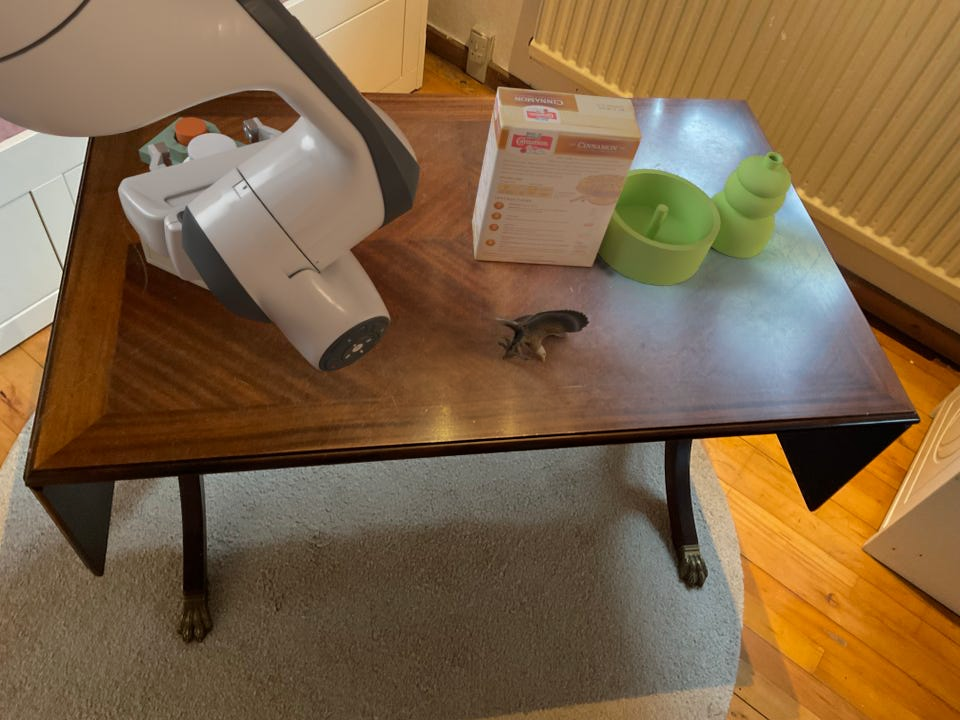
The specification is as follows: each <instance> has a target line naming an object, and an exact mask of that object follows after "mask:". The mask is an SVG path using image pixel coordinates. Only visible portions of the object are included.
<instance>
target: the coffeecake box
mask: <svg viewBox="0 0 960 720" xmlns="http://www.w3.org/2000/svg"><path fill="white" fill-rule="evenodd" d="M635 112H636V110H635V108H634V105H633V102H632V100H631V98H622V97H614V96H613V97H610V96H602V95H601V96H600V95H589V94H579V93H570V92H569V93H568V92H558V91H546V90H538V89H526V88H515V87H506V86H498V87H497V90H496V93H495V98H494V104H493V109H492V114H491V119H490V124H489V130H488V135H487V140H486V145H485V151H484V156H483V159H482V160H483V162H482V167H481V171H480V172H481V173H480V176H479V182H478V187H477V193H476V198H475V204H474V208H473V215H472V220H471V227H472V240H473V241H472V242H473V243H472V244H473V257H474V261H489V262H503V263H504V262H505V263H521V264H537V265H553V266H567V267H585V268H592V267H593V265H594V262H595V260H596V257H597V256H598V254H599V253H598V250H599V247H600V245H601V242H602V240H603V237H604V234H605V232H606V229H607V226H608V224H609V221H610V219H611V216H612V214H613V211H614V209H615V206H616V203H617V201H618V198H619V196H620V193H621V191H622V188H623V185H624V183H625V180H626V177H627V175H628V172H629V171H630V170H631V167H632V164H633V162H634V159H635V156H636V154H637V152H638V149H639V146H640V144H641V141H642V139H643V136H642V133H641V129H640V126H639V123H638V121H637V118H636V114H635Z"/></svg>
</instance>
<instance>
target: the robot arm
mask: <svg viewBox="0 0 960 720" xmlns="http://www.w3.org/2000/svg"><path fill="white" fill-rule="evenodd" d="M258 90H259V91H260V90H262V91H269V92H273V93H275V94H277V95H278V97H280V98H281V99H282V100H283V101H285V103H287V104H288V105H289V107H290V108H292V109H293V110H294V111H295V112H296V113H297V114H298V115H299V118H298V119H297V120H296V122H294V123H293V125H292V126H291V127H289V128H288V129H287V130H286V131H284V132H282V131H281V130H278V129H275V128H272V127H271V126H267V125H264V124H263V123H262V122H261V121H260V119H259V118H258V117H253V118H249V119H246V120H242V126H243V128H242V131H243V134H244V136H245V137H246V139H247V140H248V141H249V143H250V144H246V146H243V147H239V148H235V149H232V150H228V151H224V152H221V153H217V154H213V155H210V156H206V157H202V158H199V159H195V160H191V161H188V162H184V163H180V164H177V165H173V164H172V160H171V158H170V157H171V155H170V150H169V149H168V147H167V146H165V143H164V142H159V143H155V144H151V145H148V150H149V154H150V157H151V163H150V165H149V167H148V168H149V171H147V172H144V173H140V174H136V175H133V176H129V177H126V178H124V179H122V181H121V182H120V183H119V186H118V189H117V192H118V197H119V201H120V203H121V206H122V211H123V212H124V215H125V217H126V218H127V220H128V222H129V223H130V224H131V226H132V228H133V229H134V230H135V232H136V233H137V234H138V236H139V235H140V236H141V238H142V239H143V240H144V241H145V242H146V243H147V244H148V246H149V247H150V248H151V249H152V250H153V251H155V252H156V253H157V254H159V255H161V256H163V257H166V258H170V259H171V261H172V263H173V266H174V268H175V270H176V272H177V274H178V276H177V277H179V278H180V279H181V280H183V281H187V280H188V282H190V281H192V280H201V279H203V281H204V282H205V284H206V285H207V287H208V288H209V290H210V291H209V290H208V291H209V292H211V294H212V295H213V297H214V298H215V299H216V300H217V302H218V303H219V304H220V305H221V306H222V307H223V308H225V309H226V310H227V311H228V312H230V313H231V314H232V315H234V316H236V317H239V318H242V319H246V320H250V321H254V322H256V323H257V322H258V323H263V324H264V323H265V324H275V325H276V327H277V328H278V329H279V330H280V332H282V334H283V335H284V336H285V338H286V339H287V340H288V342H289V343H290V344H291V345H292V346H293V347H294V348H295V350H296V351H298V353H299V354H300V355H301V356H302V357H303V358H304V359H305V360H306V361H307V362H308V363H309V365H311V366H313V368H315V369H316V370H318V371H319V372H325V373H326V372H327V373H328V372H334V371H338V370H341V369H343V368H346V367H349V366H351V365H352V364H354V363H355V362H357V361H358V360H360V359H362V357H364V356H365V355H367V354H368V353H370V351H371V350H373V349H374V348H375V347H376V346H377V345H378V344H379V343H380V342H381V341H382V339H383V338H384V336H385V335H386V334H387V332H388V330H389V328H390V326H391V325H390V324H391V316H390V313H389V311H388V309H387V307H386V304H385V303H384V301H383V299H382V297H381V294H380V293H379V292H378V290H377V288H376V286H375V284H374V283H373V281H372V280H371V278H370V276H369V275H368V273H367V272H366V271H365V269H364V267H363V266H362V264H361V263H360V261H359V260H358V259H357V257H356V256H355V255H354V254H353V252H352V251H351V249H353V248H355V246H357V245H358V244H359V243H361V242H362V241H363V240H365V239H367V237H369V236H370V235H371V234H373V233H375V231H377V230H381V229H382V228H384V227H386V226H387V225H389V224H390V223H392V222H394V221H395V220H397V219H398V218H399V217H402V216H403V215H404V214H406V213H408V212H409V211H411V210H412V209H413V207H414V203H415V200H416V196H417V192H418V188H419V183H420V175H421V167H420V165H419V163H418V160H417V156H416V153H415V150H414V148H413V147H412V144H411V142H410V141H409V139H408V138H407V136H406V135H405V133H404V132H403V130H402V129H401V128H400V126H399V125H398V124H397V123H396V122H395V121H394V120H393V119H392V117H390V116H389V115H388V114H387V112H386V111H384V110H383V109H382V108H380V107H379V106H378V105H376V104H375V103H373V102H372V101H371V100H369V99H368V98H367V97H365V96H364V95H363V94H362V92H361V91H360V90H359V89H358V88H357V86H356V85H355V84H354V83H353V81H352V80H351V79H350V78H349V77H348V76H347V74H346V73H345V72H344V71H343V70H342V68H341V67H340V66H339V65H338V64H337V62H335V60H333V58H332V57H331V55H329V54H328V52H327V51H326V49H325V48H324V47H323V46H322V45H321V43H319V42H318V41H317V39H316V38H315V36H313V35H312V33H311V32H310V31H309V30H308V29H307V27H306V26H305V25H304V24H302V22H301V20H300V19H299V18H297V16H295V15H293V14H292V13H291V12H290V10H289V9H288V8H286V6H285V5H284V4H283V3H282V2H281V1H280V0H0V119H3V120H4V121H7V122H9V123H11V124H13V125H16V126H18V127H20V128H23V129H26V130H29V131H33V132H35V133H40V134H44V135H48V136H49V135H50V136H55V137H63V138H65V137H66V138H93V137H95V138H97V137H105V136H111V135H117V134H121V133H122V134H123V133H127V132H130V131H135V130H137V129H140V128H141V129H142V128H143V127H146V126H148V125H151V124H153V123H156V122H159V121H160V120H162V119H163V120H164V119H165V118H168V117H170V116H172V115H174V114H178V113H179V112H181V111H184V110H186V109H188V108H191V107H194V106H197V105H199V104H202V103H206V102H208V101H212V100H214V99H218V98H221V97H226V96H229V95H233V94H237V93H241V92H248V91H258ZM172 165H173V166H172ZM140 236H139V237H140Z"/></svg>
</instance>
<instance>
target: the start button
mask: <svg viewBox="0 0 960 720" xmlns="http://www.w3.org/2000/svg"><path fill="white" fill-rule="evenodd" d="M182 118H183V119H181V120H179V121H178V122H177V123H176V124H175V131H176V136H177V140H178V142H179V143H180V144H181V145H183V146H188V145H189V143H190V142H191V140H193V139H194V138H195V137H197V136H199V135H202V134H207V133H208V131H207V125H206V123H205V122H204V121H203V120H204V119H202V120H201V118H199V117H194V116H189V117H182Z"/></svg>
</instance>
